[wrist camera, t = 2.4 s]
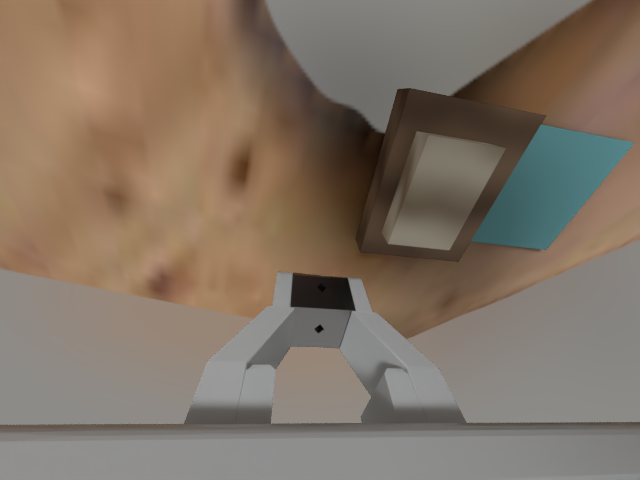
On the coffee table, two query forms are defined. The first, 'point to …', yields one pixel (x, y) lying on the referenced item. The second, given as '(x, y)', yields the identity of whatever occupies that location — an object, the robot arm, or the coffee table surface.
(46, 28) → the coffee table surface
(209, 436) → the robot arm
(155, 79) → the coffee table surface
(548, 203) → the teal mat
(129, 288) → the coffee table surface
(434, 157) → the birch tile
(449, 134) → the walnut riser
